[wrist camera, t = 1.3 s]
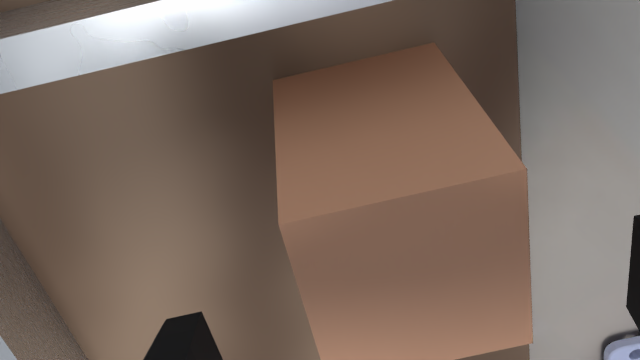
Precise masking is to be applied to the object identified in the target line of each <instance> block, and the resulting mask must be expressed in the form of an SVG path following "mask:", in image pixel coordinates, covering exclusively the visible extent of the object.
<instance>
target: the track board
mask: <svg viewBox="0 0 640 360" xmlns="http://www.w3.org/2000/svg"><path fill="white" fill-rule="evenodd" d="M45 1H49V0H0V12H4V11H8V10H12V9H17V8H21V7H25V6H29V5H33V4H37V3H41V2H45ZM429 43H435V44H436V46H437V47H438V48H439V50H440V51H441V53H442V54H443V55H444V57H445V58H446V59H447V61H448V62H449V63H450V65H451V66H452V68H453V69H454V70H455V72H456V73H457V74H458V76H459V77H460V78H461V80H462V81H463V82H464V84H465V85H466V87H467V88H468V89H469V91H470V92H471V93H472V95H473V96H474V97H475V99H476V100H477V102H478V103H479V104H480V106H481V107H482V108H483V110H484V111H485V112H486V114H487V115H488V117H489V118H490V119H491V121H492V122H493V123H494V125H495V126H496V127H497V129H498V130H499V132H500V133H501V134H502V136H503V137H504V138H505V140H506V141H507V142H508V144H509V145H510V147H511V148H512V149H513V151H514V152H515V153H516V155H517V156H518V157H519V159H520V160H521V161H522V157H521V132H520V107H519V81H518V56H517V31H516V5H515V0H393V1H389V2H385V3H381V4H376V5H372V6H368V7H364V8H360V9H355V10H351V11H347V12H343V13H339V14H334V15H330V16H326V17H322V18H318V19H313V20H309V21H305V22H301V23H297V24H292V25H288V26H284V27H280V28H276V29H271V30H267V31H263V32H259V33H255V34H250V35H246V36H242V37H238V38H234V39H229V40H225V41H221V42H217V43H213V44H208V45H204V46H200V47H196V48H192V49H187V50H183V51H179V52H175V53H171V54H166V55H162V56H158V57H154V58H150V59H145V60H141V61H137V62H133V63H129V64H124V65H120V66H116V67H112V68H108V69H103V70H99V71H95V72H91V73H87V74H82V75H78V76H74V77H70V78H66V79H61V80H57V81H53V82H49V83H45V84H40V85H36V86H32V87H28V88H24V89H19V90H15V91H11V92H7V93H3V94H0V218H1V220H2V222H3V223H4V225H5V226H6V228H7V230H8V231H9V233H10V234H11V236H12V238H13V239H14V241H15V243H16V244H17V246H18V247H19V249H20V251H21V252H22V254H23V256H24V257H25V259H26V260H27V262H28V264H29V265H30V267H31V268H32V270H33V272H34V273H35V275H36V277H37V278H38V280H39V281H40V283H41V285H42V286H43V288H44V289H45V291H46V293H47V294H48V296H49V298H50V299H51V301H52V302H53V304H54V306H55V307H56V309H57V311H58V312H59V314H60V315H61V317H62V319H63V320H64V322H65V323H66V325H67V327H68V328H69V330H70V332H71V333H72V335H73V336H74V338H75V340H76V341H77V343H78V345H79V346H80V348H81V349H82V351H83V353H84V354H85V356H86V357H87V359H88V360H143V359H144V357H145V355H146V354H147V352H148V350H149V348H150V346H151V345H152V343H153V341H154V339H155V337H156V335H157V334H158V332H159V330H160V328H161V327H162V325H163V323H164V322H165V320H166V319H169V318H174V317H178V316H183V315H187V314H192V313H196V312H201V311H202V313H203V316H204V318H205V320H206V322H207V325H208V327H209V329H210V331H211V334H212V336H213V338H214V340H215V343H216V345H217V347H218V350H219V352H220V354H221V356H222V359H223V360H321V359H320V356H319V353H318V350H317V346H316V343H315V340H314V337H313V334H312V330H311V327H310V324H309V321H308V318H307V314H306V311H305V308H304V305H303V302H302V298H301V295H300V292H299V289H298V286H297V282H296V279H295V276H294V273H293V270H292V267H291V263H290V260H289V257H288V254H287V251H286V247H285V244H284V241H283V238H282V235H281V231H280V228H279V225H278V203H277V178H276V153H275V128H274V103H273V80H276V79H280V78H284V77H289V76H293V75H297V74H301V73H306V72H310V71H314V70H318V69H323V68H327V67H331V66H335V65H340V64H344V63H348V62H353V61H357V60H361V59H365V58H370V57H374V56H378V55H382V54H387V53H391V52H395V51H399V50H404V49H408V48H412V47H417V46H421V45H425V44H429ZM456 360H529V344H527V345H522V346H517V347H512V348H508V349H503V350H498V351H493V352H489V353H484V354H479V355H475V356H470V357H465V358H460V359H456Z"/></svg>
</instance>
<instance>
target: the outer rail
mask: <svg viewBox="0 0 640 360" xmlns="http://www.w3.org/2000/svg"><path fill="white" fill-rule="evenodd" d="M389 1H393V0H49V1H45V2H41V3H37V4H33V5H29V6H25V7H21V8H17V9H12V10H8V11H4V12H0V94H3V93H7V92H11V91H15V90H19V89H24V88H28V87H32V86H36V85H40V84H45V83H49V82H53V81H57V80H61V79H66V78H70V77H74V76H78V75H82V74H87V73H91V72H95V71H99V70H103V69H108V68H112V67H116V66H120V65H124V64H129V63H133V62H137V61H141V60H145V59H150V58H154V57H158V56H162V55H166V54H171V53H175V52H179V51H183V50H187V49H192V48H196V47H200V46H204V45H208V44H213V43H217V42H221V41H225V40H229V39H234V38H238V37H242V36H246V35H250V34H255V33H259V32H263V31H267V30H271V29H276V28H280V27H284V26H288V25H292V24H297V23H301V22H305V21H309V20H313V19H318V18H322V17H326V16H330V15H334V14H339V13H343V12H347V11H351V10H355V9H360V8H364V7H368V6H372V5H376V4H381V3H385V2H389ZM0 360H88V359H87V357H86V356H85V354H84V353H83V351H82V349H81V348H80V346H79V345H78V343H77V341H76V340H75V338H74V336H73V335H72V333H71V332H70V330H69V328H68V327H67V325H66V323H65V322H64V320H63V319H62V317H61V315H60V314H59V312H58V311H57V309H56V307H55V306H54V304H53V302H52V301H51V299H50V298H49V296H48V294H47V293H46V291H45V289H44V288H43V286H42V285H41V283H40V281H39V280H38V278H37V277H36V275H35V273H34V272H33V270H32V268H31V267H30V265H29V264H28V262H27V260H26V259H25V257H24V256H23V254H22V252H21V251H20V249H19V247H18V246H17V244H16V243H15V241H14V239H13V238H12V236H11V234H10V233H9V231H8V230H7V228H6V226H5V225H4V223H3V222H2V220H1V218H0Z"/></svg>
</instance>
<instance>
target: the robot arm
mask: <svg viewBox="0 0 640 360" xmlns="http://www.w3.org/2000/svg"><path fill="white" fill-rule="evenodd" d="M626 307H627V309H628V311H629V313H630V315H631V316H632V318H633V320H634V322H635V324H636V326H637V328H638V329H639V331H640V215H636V216H634V221H633V233H632V245H631V257H630V269H629V281H628V293H627V305H626ZM143 360H223V359H222V356H221V354H220V352H219V350H218V347H217V345H216V343H215V340H214V338H213V336H212V334H211V331H210V329H209V327H208V325H207V322H206V320H205V318H204V316H203V313H202V311H201V312H196V313H192V314H187V315H183V316H178V317H174V318H169V319H166V320H165V322H164V323H163V325H162V327H161V328H160V330H159V332H158V334H157V335H156V337H155V339H154V341H153V343H152V345H151V346H150V348H149V350H148V352H147V354H146V355H145V357H144V359H143ZM604 360H640V336H636V337H631V338H626V339H621V340H617V341H614V342H612V343H610V344H609V345H608V346H607V347H606V348H605V351H604Z"/></svg>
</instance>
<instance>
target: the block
mask: <svg viewBox="0 0 640 360" xmlns="http://www.w3.org/2000/svg"><path fill="white" fill-rule="evenodd" d="M273 103H274V128H275V153H276V178H277V203H278V225H279V228H280V231H281V235H282V238H283V241H284V244H285V247H286V251H287V254H288V257H289V260H290V263H291V267H292V270H293V273H294V276H295V279H296V282H297V286H298V289H299V292H300V295H301V298H302V302H303V305H304V308H305V311H306V314H307V318H308V321H309V324H310V327H311V330H312V334H313V337H314V340H315V343H316V346H317V350H318V353H319V356H320V359H321V360H456V359H460V358H465V357H470V356H475V355H479V354H484V353H489V352H493V351H498V350H503V349H508V348H512V347H517V346H522V345H527V344H531V343H533V330H532V301H531V272H530V243H529V214H528V185H527V168H526V167H525V166H524V164H523V163H522V161H521V160H520V159H519V157H518V156H517V155H516V153H515V152H514V151H513V149H512V148H511V147H510V145H509V144H508V142H507V141H506V140H505V138H504V137H503V136H502V134H501V133H500V132H499V130H498V129H497V127H496V126H495V125H494V123H493V122H492V121H491V119H490V118H489V117H488V115H487V114H486V112H485V111H484V110H483V108H482V107H481V106H480V104H479V103H478V102H477V100H476V99H475V97H474V96H473V95H472V93H471V92H470V91H469V89H468V88H467V87H466V85H465V84H464V82H463V81H462V80H461V78H460V77H459V76H458V74H457V73H456V72H455V70H454V69H453V68H452V66H451V65H450V63H449V62H448V61H447V59H446V58H445V57H444V55H443V54H442V53H441V51H440V50H439V48H438V47H437V46H436V44H435V43H429V44H425V45H421V46H417V47H412V48H408V49H404V50H399V51H395V52H391V53H387V54H382V55H378V56H374V57H370V58H365V59H361V60H357V61H353V62H348V63H344V64H340V65H335V66H331V67H327V68H323V69H318V70H314V71H310V72H306V73H301V74H297V75H293V76H289V77H284V78H280V79H276V80H273Z"/></svg>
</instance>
